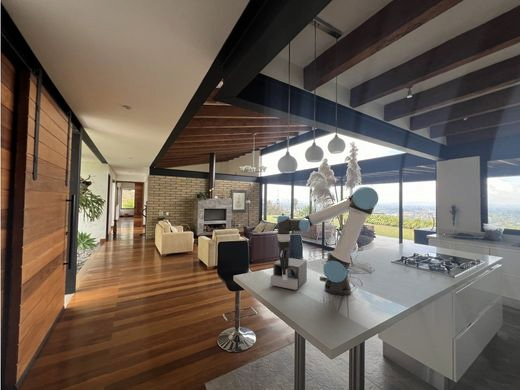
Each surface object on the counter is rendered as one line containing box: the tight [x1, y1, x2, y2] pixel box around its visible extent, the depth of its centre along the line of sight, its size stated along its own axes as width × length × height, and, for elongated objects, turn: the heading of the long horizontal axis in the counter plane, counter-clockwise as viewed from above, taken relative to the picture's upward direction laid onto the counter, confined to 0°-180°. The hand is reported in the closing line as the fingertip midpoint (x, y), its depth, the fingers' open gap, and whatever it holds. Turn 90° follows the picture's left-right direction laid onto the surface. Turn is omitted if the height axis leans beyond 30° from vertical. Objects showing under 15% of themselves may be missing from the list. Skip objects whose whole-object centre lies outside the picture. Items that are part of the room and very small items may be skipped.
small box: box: [282, 267, 297, 279], centre depth 147 cm, size 11×6×10 cm, turn 64°
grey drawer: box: [270, 274, 298, 291], centre depth 144 cm, size 17×21×6 cm
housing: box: [272, 257, 308, 290], centre depth 148 cm, size 17×18×14 cm
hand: (285, 279), depth 134 cm, fingers closed
